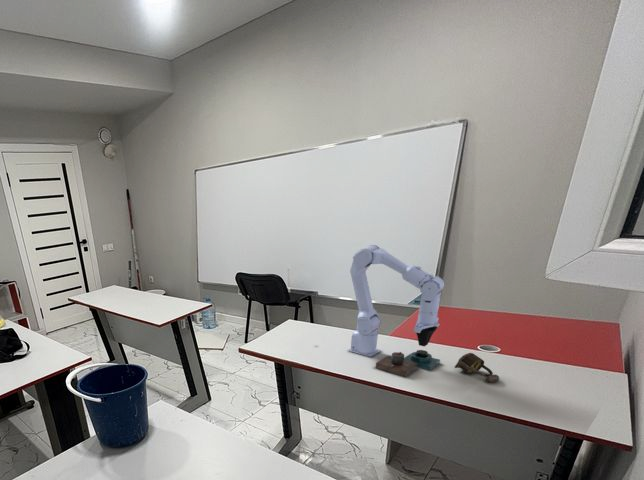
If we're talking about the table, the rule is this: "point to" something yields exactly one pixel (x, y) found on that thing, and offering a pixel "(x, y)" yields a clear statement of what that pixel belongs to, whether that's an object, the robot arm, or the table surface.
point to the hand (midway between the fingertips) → (423, 345)
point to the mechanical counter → (475, 366)
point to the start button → (421, 353)
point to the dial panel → (397, 366)
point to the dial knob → (397, 358)
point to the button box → (423, 361)
